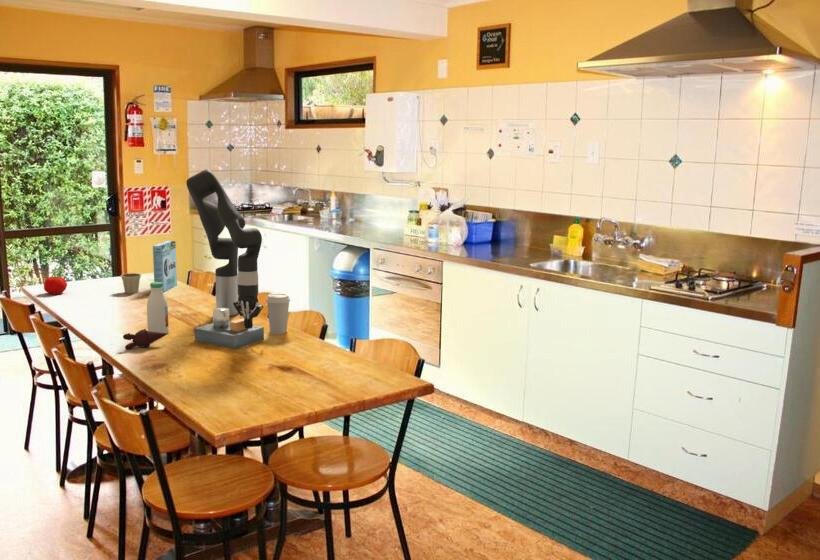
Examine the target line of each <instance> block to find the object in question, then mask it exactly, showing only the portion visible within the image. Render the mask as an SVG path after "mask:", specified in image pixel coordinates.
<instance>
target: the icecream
mask: <svg viewBox="0 0 820 560" xmlns="http://www.w3.org/2000/svg"><path fill="white" fill-rule="evenodd" d="M166 336H167V333H158V332H150V331H148V329H146V328H144V329H141V330H139V331H137V332H136V333H135V334H133V333H130V332H129V333H125V334H123V335H122V337H123V340H127V341H132V342H130V343H128V344H125V347H124V348H125V350H132V349H134V348H136V347H139V348H150V346H151V344H153V343H155V342H157V341H158V340H160V339H162V338H163V337H166Z"/></svg>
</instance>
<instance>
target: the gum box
mask: <svg viewBox="0 0 820 560" xmlns="http://www.w3.org/2000/svg"><path fill="white" fill-rule="evenodd" d="M176 245H177V244H176V241H175V240H166V241H163V242H160V243H157V244H155V245H152V261H153V262H152V264H153V282H162V283H163V288H162V291H163V293H165V292H166V291H168V290H171V289H172V288H174V287H175V286H177V285H178V272H177V253H176V252H177V250H176V249H177V248H176V247H177V246H176Z"/></svg>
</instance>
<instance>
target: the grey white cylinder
mask: <svg viewBox="0 0 820 560" xmlns="http://www.w3.org/2000/svg"><path fill="white" fill-rule="evenodd" d="M229 321H230V316H229V309H228V308H213V309H212V323H213V327H215V328H227V327H229Z"/></svg>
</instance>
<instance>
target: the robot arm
mask: <svg viewBox="0 0 820 560" xmlns="http://www.w3.org/2000/svg"><path fill="white" fill-rule="evenodd" d="M186 188H187V191H188V193H189V195H190V197H191V199H192V201H193V202H194V205H195V208H196V210H197V214H198V215H199V218H200V219H199V220H200V222H201V224H202V227H203V229H204V231H205V234H206V236H207V239H208V244H209V248H210V252H211V255H212V257H213V259H215V260H228V263H227V264H225V265H223V266H219V267H217V268H215V272H214V273H215V307H216V308H228V309H229V317H231V316H237V315H239V317H242V318H244V326H245V328H247V329H250V328H252V326H253V319H254V318H257V317H258V316H259V314H260V313H261V311H263V309H264V305H263V304H260V302H259V299H258V296H259V273H258V271H259V270H258V258H259V256H260V250H261V247H262V244H263V238H262V237H263V235H262V232H261V231H260V230H259V229H258V228H257V227H256V228H255V227H250V228H245V226H246V220H245V219H244V217H243V215H241V214H240V212H239V211H238V210H237V208H236V207H235V206H234V205H233V203H232V201H231V199H230V197H229V196H228V194H227V192H226V191H225V189H224V188H223V186H222V184H221V183H220V181H219V180H218V178H217V177H216V175H215V173H213V172H212V171H211V170H210V169H204V170H201V171H200V172H198V173H196V174H194V175H192V176H190V177H189V178H187V180H186ZM214 193H215V194H216V196H217V197H216V198H217V205H216V204H214V203H213V202H210V201H208V200H205V199H206V198H207V197H209V196H211V195H212V194H214ZM225 228H226V229H227V230H228V233H229V235H230V237H220V235H221V234H222V232H223V231H224V229H225ZM239 249H246V251H245V252H244V253H242V254H240V255H239Z"/></svg>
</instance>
